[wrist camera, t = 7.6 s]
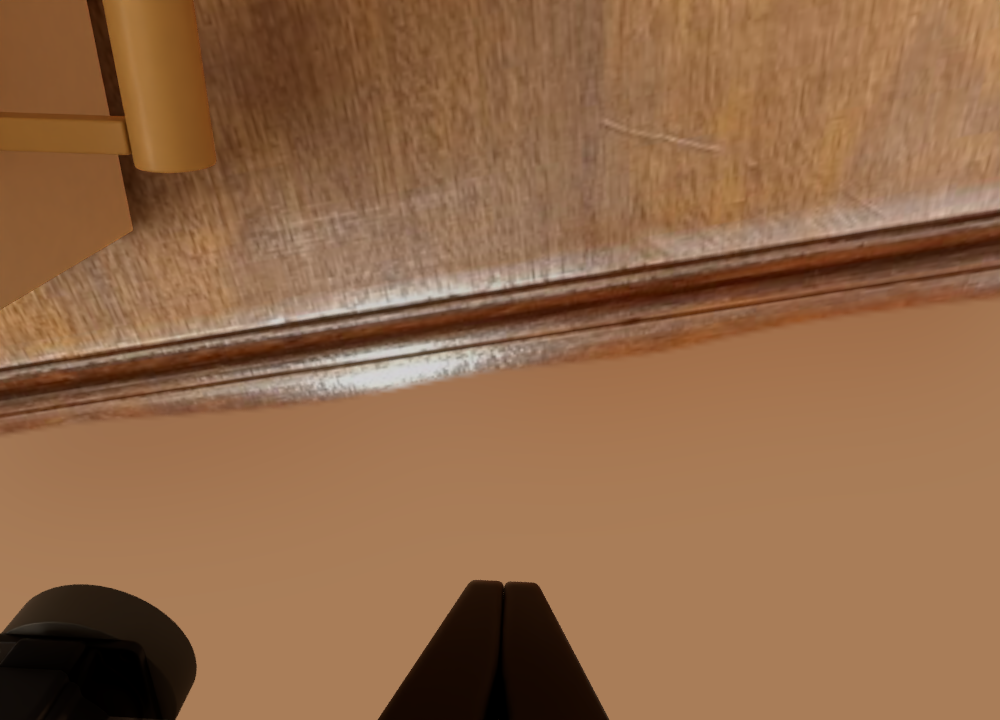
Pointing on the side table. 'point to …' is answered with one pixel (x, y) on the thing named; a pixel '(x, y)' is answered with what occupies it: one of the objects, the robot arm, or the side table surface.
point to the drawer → (89, 126)
